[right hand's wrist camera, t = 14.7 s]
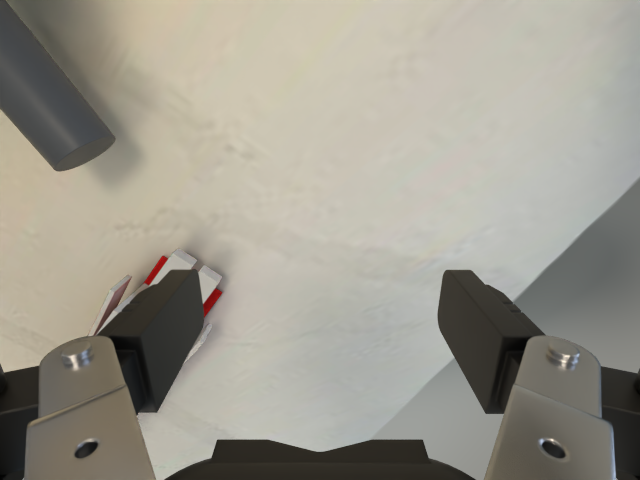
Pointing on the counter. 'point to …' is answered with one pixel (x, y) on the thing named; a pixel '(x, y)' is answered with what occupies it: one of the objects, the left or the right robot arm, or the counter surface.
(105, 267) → the counter surface
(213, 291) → the toy
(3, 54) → the rod
